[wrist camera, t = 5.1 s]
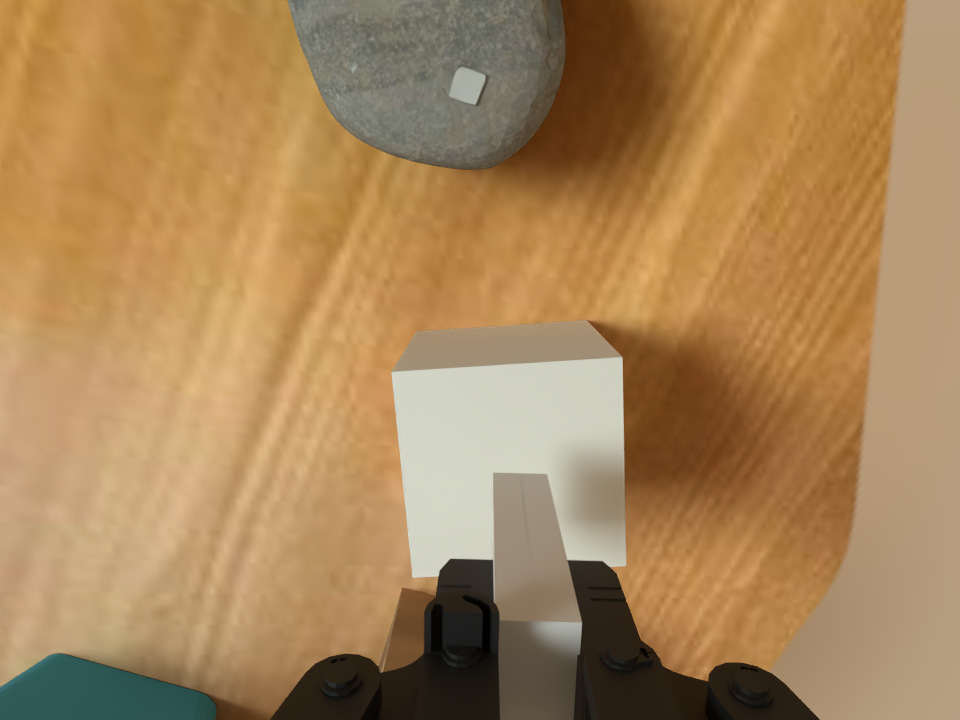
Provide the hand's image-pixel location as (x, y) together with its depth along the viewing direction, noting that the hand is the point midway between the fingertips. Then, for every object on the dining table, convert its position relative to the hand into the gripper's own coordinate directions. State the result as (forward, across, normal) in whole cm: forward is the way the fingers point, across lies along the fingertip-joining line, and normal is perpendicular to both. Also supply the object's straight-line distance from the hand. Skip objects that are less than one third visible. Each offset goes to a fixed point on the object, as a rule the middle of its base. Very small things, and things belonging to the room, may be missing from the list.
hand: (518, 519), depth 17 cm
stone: (+10, -3, +16) cm, 19 cm away
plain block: (+10, 0, 0) cm, 10 cm away
